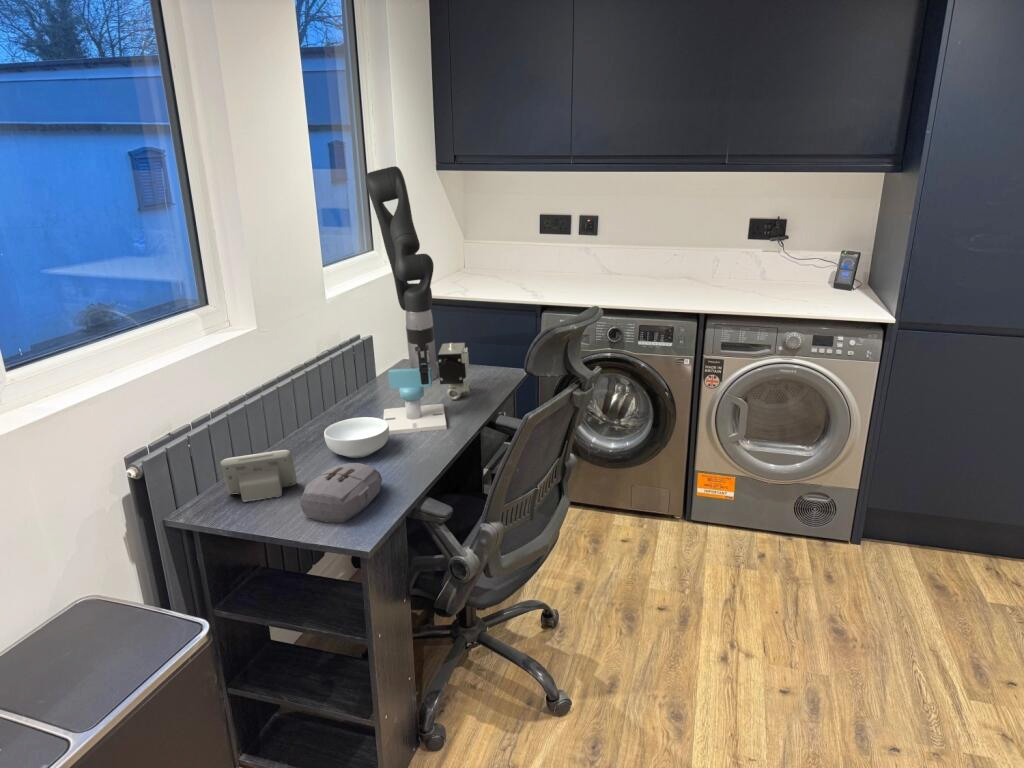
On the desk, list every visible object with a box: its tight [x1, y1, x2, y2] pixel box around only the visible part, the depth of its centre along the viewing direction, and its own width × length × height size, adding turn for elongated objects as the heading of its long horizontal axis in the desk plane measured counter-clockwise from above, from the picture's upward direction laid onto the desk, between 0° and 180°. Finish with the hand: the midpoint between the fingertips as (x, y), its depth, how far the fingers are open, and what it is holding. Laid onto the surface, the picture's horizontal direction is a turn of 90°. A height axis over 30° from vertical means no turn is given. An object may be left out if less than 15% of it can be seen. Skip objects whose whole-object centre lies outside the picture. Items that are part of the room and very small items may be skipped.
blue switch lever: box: [387, 368, 433, 401], centre depth 207 cm, size 12×7×8 cm, turn 90°
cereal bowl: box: [323, 416, 390, 459], centre depth 190 cm, size 17×17×7 cm
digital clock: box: [219, 449, 297, 501], centre depth 169 cm, size 16×9×11 cm, turn 94°
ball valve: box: [437, 341, 471, 401], centre depth 227 cm, size 18×8×18 cm, turn 179°
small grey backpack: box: [300, 462, 383, 524], centre depth 163 cm, size 15×8×20 cm
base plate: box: [382, 398, 448, 436], centre depth 210 cm, size 18×18×8 cm
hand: (424, 379), depth 207 cm, fingers open, 8 cm apart
